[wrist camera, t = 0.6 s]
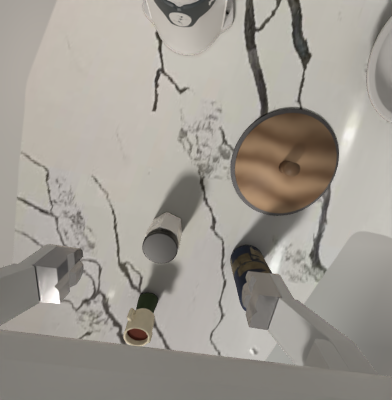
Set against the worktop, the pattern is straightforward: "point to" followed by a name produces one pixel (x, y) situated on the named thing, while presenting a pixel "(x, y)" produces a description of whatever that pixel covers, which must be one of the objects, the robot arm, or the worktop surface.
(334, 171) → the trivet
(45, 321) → the worktop surface
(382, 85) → the soup bowl
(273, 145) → the lid
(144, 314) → the character mug
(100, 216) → the worktop surface
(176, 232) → the jar
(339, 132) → the worktop surface
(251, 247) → the canister
